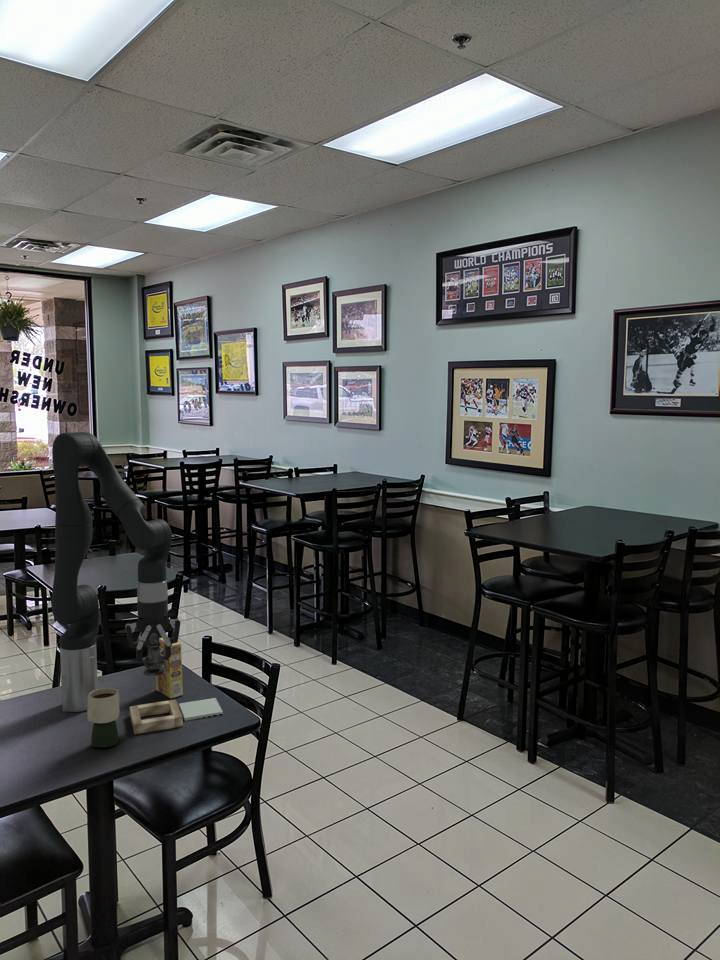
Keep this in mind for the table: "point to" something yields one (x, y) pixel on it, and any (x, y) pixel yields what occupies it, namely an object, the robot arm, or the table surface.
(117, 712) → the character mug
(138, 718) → the beige square frame
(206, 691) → the table surface
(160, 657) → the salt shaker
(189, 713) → the coaster
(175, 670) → the candy box
